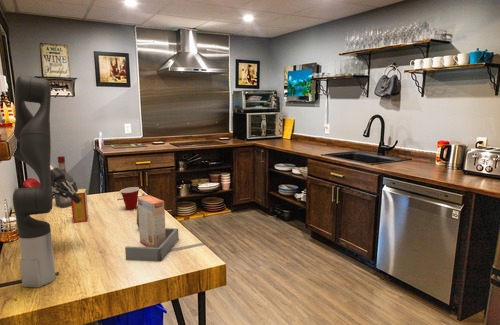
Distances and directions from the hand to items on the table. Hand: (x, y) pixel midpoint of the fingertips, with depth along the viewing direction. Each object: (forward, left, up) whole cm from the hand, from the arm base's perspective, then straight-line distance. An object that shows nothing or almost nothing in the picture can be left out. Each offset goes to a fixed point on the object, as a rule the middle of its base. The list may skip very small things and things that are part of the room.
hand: (79, 201), depth 145 cm
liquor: (+56, +46, -20) cm, 75 cm away
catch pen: (0, -32, -20) cm, 37 cm away
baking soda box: (+32, +21, -20) cm, 43 cm away
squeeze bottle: (+22, -19, -20) cm, 35 cm away
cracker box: (+4, -30, -20) cm, 36 cm away
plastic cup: (+53, +3, -20) cm, 57 cm away
